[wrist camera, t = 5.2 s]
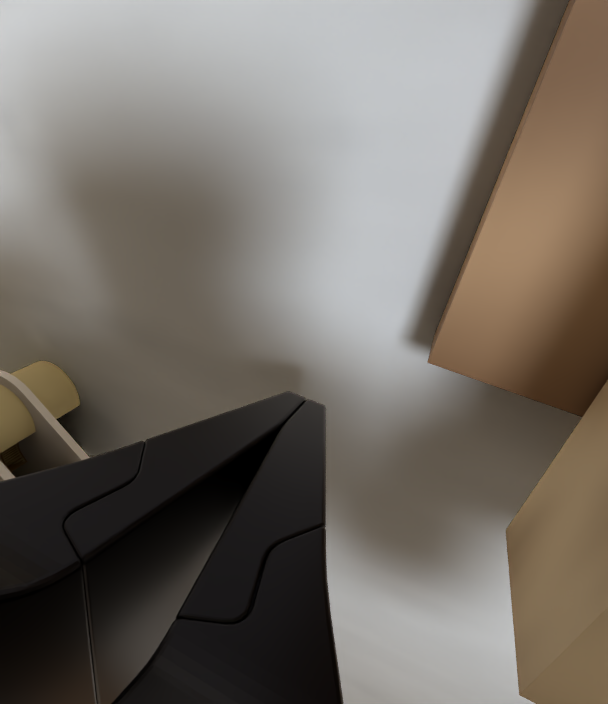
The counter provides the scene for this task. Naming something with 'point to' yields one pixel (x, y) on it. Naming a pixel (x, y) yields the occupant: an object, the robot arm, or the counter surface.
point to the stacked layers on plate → (36, 420)
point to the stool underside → (544, 238)
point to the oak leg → (564, 571)
